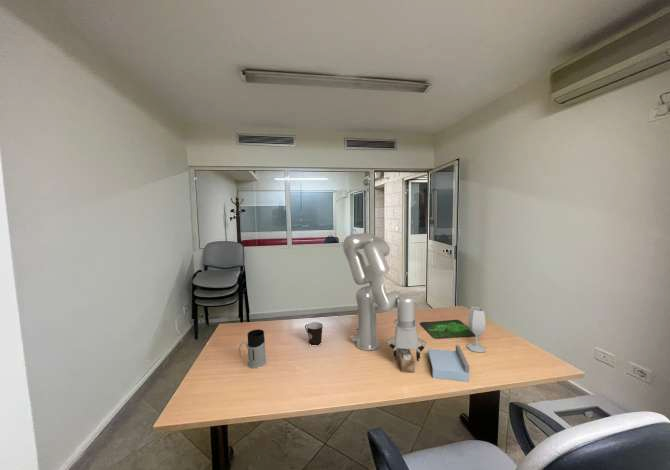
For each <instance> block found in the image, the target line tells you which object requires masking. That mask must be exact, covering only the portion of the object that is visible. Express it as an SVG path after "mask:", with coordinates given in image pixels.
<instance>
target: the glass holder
mask: <svg viewBox="0 0 670 470" xmlns="http://www.w3.org/2000/svg"><path fill="white" fill-rule="evenodd" d="M265 337H266V336H265V331H264V330H263V329H252V330H250V331H249V332H247V341H246V342H245V341H243V342H241V343H240V344H239V347H238V353H239V356H240V358H241V359H242V360H244V361H246V362H247V367H248V366H249V367H248V368H250V367H251V368H250V369H254V368H255V369H259V368H258V367H260V368H262V367H264V366H265V365H266V364H267V363H266V360H267V359H266V340H265ZM243 344H245V346H246V349H247V356H248V359H246V358H245V357H243V356H242V353H241V347H242V345H243ZM265 363H266V364H265ZM264 364H265V365H264ZM263 365H264V366H263ZM261 366H262V367H261Z"/></svg>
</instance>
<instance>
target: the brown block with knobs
mask: <svg viewBox="0 0 670 470" xmlns="http://www.w3.org/2000/svg"><path fill="white" fill-rule="evenodd" d="M397 361H398V364H399V368H400V372H401V373H403V374H406V373H407V374H409V373H411V374H413V373H414V374H415V372H416V371H415V368H416V367H415V366H416V364H415V363H416V362H415V359H414V358H413V354H412V353H411V349H399V348H397Z"/></svg>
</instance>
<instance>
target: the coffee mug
mask: <svg viewBox="0 0 670 470" xmlns="http://www.w3.org/2000/svg"><path fill="white" fill-rule="evenodd" d="M323 326H324V324H323V323H321V322H318V321H317V322H316V321H313V322H309V323H307V324H305V325H304V328H305V331H306V333H307V335H308V336H307V337H308V342H309V343H310V344H311V345H318V346H320V345H321V344H322V337H323ZM309 343H308V344H309ZM320 343H321V344H320ZM310 344H309V345H310ZM319 344H320V345H319ZM311 345H310V346H311Z"/></svg>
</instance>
